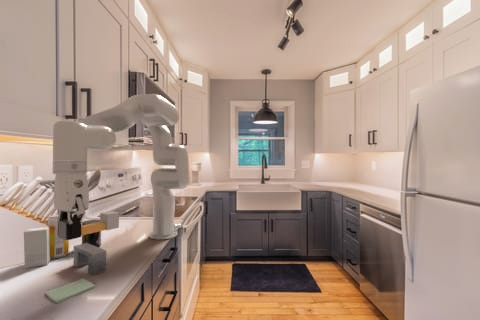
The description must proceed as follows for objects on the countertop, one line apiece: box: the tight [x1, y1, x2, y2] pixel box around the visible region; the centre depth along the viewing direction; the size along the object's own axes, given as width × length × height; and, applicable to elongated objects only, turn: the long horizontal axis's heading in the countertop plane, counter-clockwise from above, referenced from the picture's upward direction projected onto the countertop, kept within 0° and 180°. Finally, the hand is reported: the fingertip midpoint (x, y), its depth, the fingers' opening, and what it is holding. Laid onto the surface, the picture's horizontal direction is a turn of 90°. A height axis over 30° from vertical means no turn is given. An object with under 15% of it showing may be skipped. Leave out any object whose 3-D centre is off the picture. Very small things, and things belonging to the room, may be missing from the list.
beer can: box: [47, 214, 70, 260], centre depth 87 cm, size 6×6×15 cm
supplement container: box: [81, 219, 102, 248], centre depth 96 cm, size 7×7×10 cm
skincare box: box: [23, 226, 51, 269], centre depth 80 cm, size 6×4×12 cm
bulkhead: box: [72, 243, 107, 276], centre depth 78 cm, size 4×13×6 cm, turn 57°
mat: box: [44, 278, 96, 304], centre depth 64 cm, size 9×7×1 cm
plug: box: [59, 210, 120, 240], centre depth 68 cm, size 14×4×5 cm, turn 147°
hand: (69, 235), depth 63 cm, fingers closed on plug, 4 cm apart
